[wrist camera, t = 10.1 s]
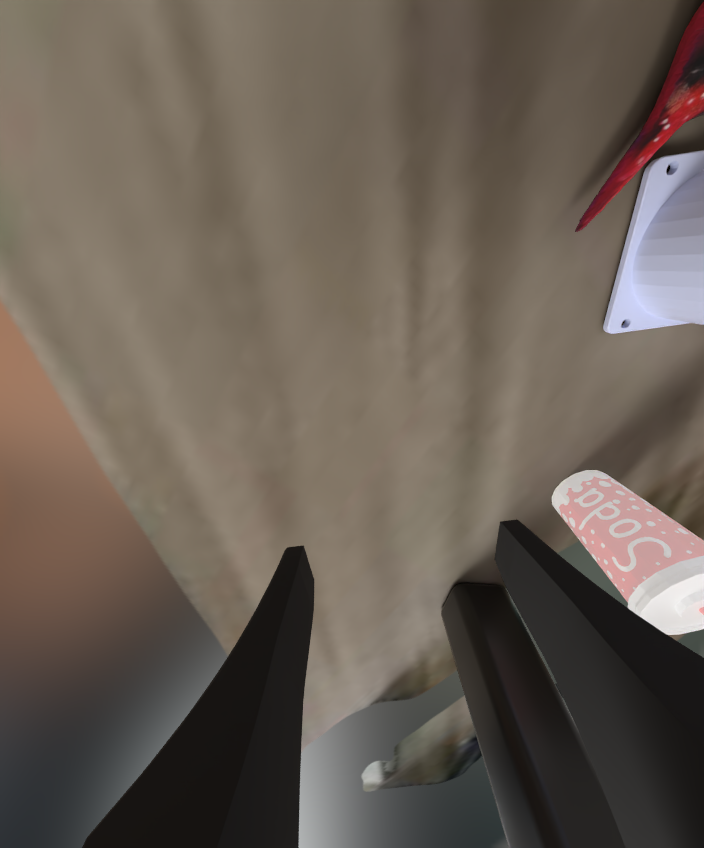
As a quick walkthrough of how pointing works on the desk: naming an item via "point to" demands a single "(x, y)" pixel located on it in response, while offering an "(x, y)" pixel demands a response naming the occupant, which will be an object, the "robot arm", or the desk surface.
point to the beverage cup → (637, 550)
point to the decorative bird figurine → (662, 113)
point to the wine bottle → (524, 728)
